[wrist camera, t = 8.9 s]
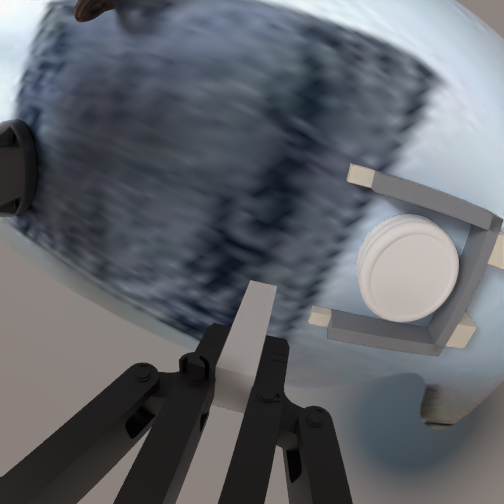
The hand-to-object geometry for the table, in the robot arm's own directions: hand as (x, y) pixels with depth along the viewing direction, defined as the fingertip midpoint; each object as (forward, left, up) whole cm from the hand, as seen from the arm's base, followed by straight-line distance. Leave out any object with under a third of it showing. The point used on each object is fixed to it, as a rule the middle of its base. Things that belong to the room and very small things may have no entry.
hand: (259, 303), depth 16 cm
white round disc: (+12, 0, -12) cm, 17 cm away
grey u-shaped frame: (+14, 0, -11) cm, 18 cm away
